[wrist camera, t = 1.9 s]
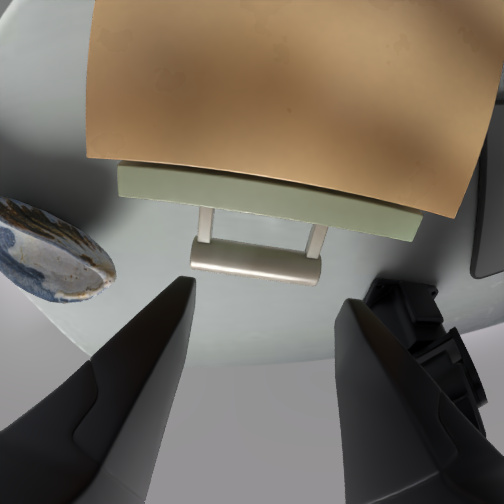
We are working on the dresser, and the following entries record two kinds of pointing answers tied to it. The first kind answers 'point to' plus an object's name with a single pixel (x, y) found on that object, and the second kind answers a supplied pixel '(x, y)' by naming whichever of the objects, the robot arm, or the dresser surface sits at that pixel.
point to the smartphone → (490, 201)
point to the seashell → (50, 255)
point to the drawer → (267, 204)
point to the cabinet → (301, 90)
